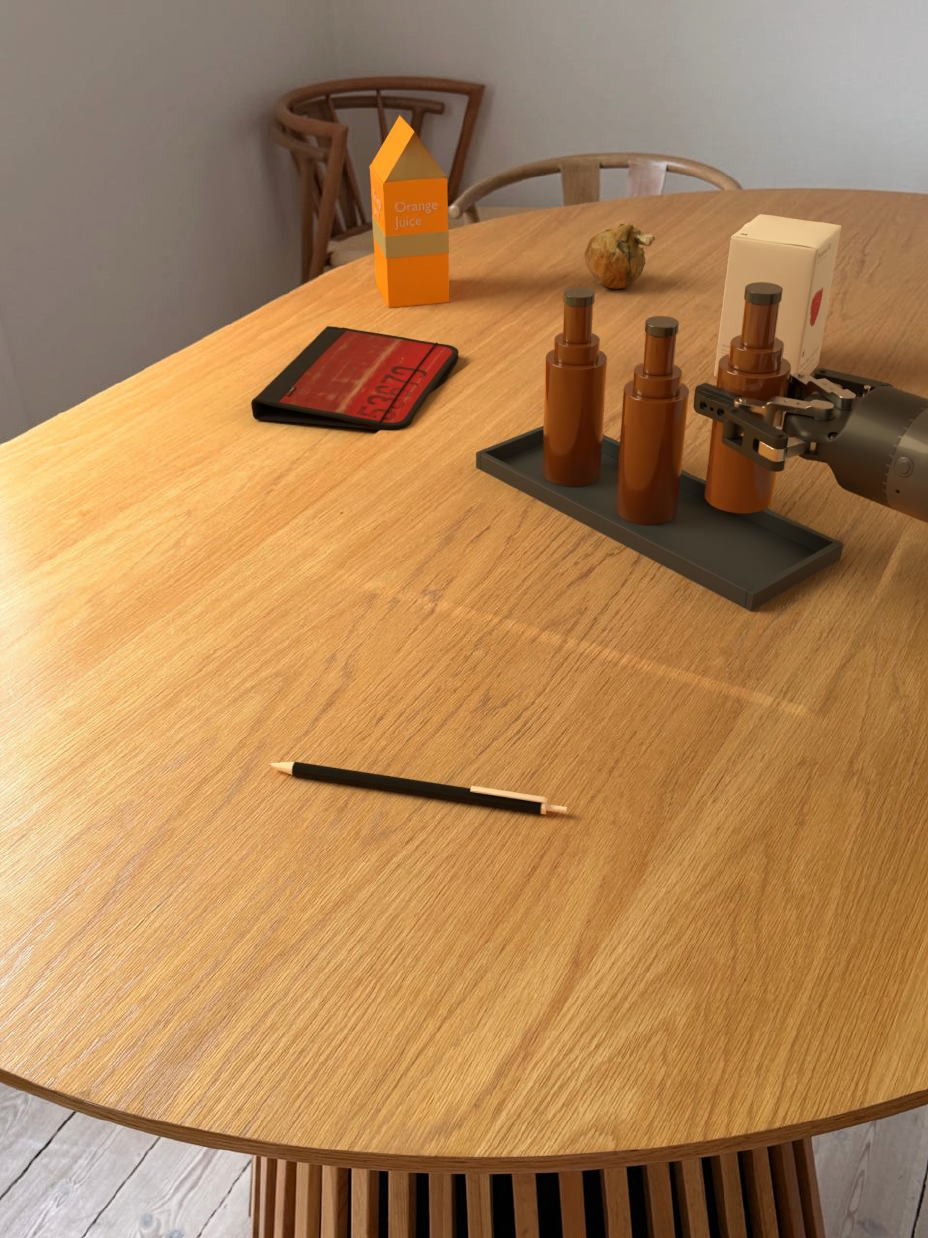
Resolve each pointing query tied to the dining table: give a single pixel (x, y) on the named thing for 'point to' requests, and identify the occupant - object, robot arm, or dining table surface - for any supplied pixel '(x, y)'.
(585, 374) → the bottle
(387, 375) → the binder
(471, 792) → the pen
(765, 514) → the tray
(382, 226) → the orange juice
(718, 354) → the white product box
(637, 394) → the bottle
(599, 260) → the onion
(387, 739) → the dining table surface
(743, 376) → the bottle
